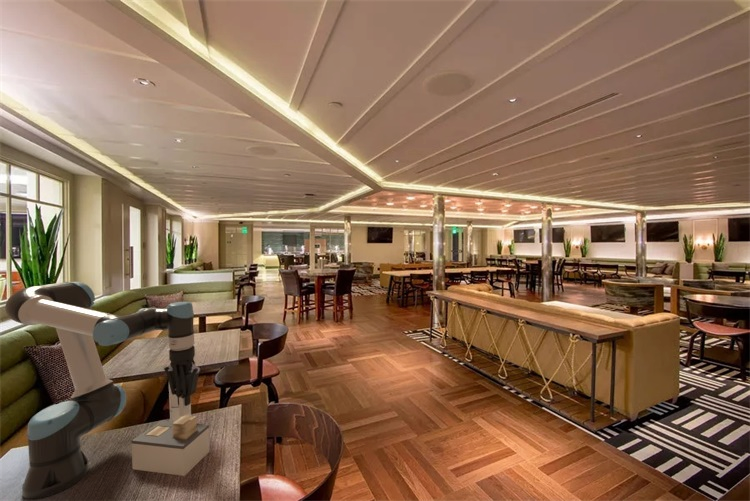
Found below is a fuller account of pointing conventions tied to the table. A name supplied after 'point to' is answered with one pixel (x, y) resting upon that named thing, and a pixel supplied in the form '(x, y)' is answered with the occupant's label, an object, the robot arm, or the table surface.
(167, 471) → the plinth
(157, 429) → the peg
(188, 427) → the peg
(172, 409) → the cylindrical container
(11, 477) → the table surface
